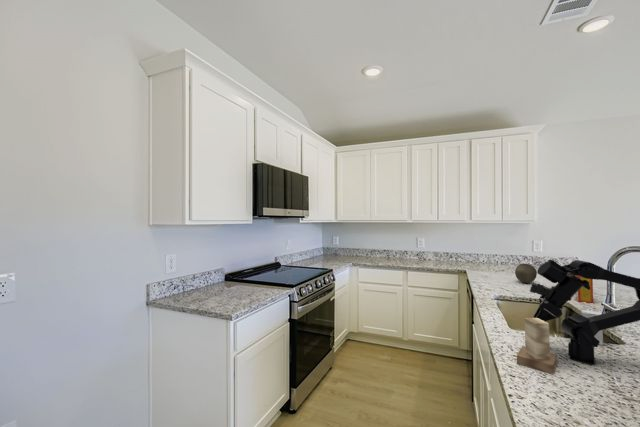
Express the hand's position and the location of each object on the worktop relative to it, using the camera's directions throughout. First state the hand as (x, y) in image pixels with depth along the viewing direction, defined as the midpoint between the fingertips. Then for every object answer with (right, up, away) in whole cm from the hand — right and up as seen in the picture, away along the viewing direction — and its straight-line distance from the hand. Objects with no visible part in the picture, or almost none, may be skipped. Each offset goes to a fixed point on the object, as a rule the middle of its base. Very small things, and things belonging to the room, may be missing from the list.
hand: (534, 320), depth 111 cm
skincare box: (+29, -12, +7) cm, 32 cm away
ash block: (-6, -8, -10) cm, 15 cm away
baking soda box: (+78, -12, +66) cm, 103 cm away
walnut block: (-6, -12, -10) cm, 17 cm away
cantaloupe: (+77, -13, +114) cm, 139 cm away
